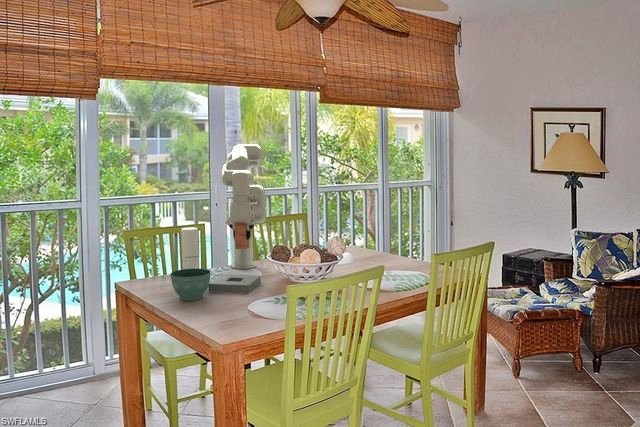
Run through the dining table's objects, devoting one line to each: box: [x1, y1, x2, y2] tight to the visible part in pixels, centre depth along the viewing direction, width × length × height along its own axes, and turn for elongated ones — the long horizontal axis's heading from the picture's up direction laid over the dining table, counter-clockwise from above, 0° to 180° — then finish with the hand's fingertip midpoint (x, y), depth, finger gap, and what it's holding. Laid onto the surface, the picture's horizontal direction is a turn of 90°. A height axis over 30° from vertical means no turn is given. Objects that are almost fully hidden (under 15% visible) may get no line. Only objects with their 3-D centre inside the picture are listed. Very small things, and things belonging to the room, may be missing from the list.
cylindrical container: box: [180, 226, 200, 269], centre depth 276 cm, size 7×7×25 cm
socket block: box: [207, 273, 262, 294], centre depth 269 cm, size 18×18×4 cm
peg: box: [235, 223, 249, 249], centre depth 277 cm, size 5×5×12 cm
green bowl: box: [170, 268, 212, 302], centre depth 251 cm, size 16×16×11 cm
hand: (242, 238), depth 277 cm, fingers closed on peg, 5 cm apart
